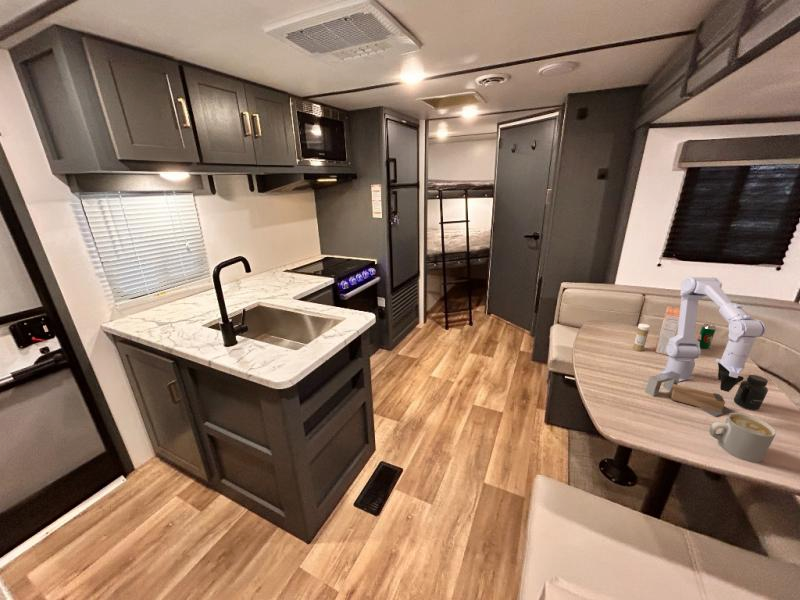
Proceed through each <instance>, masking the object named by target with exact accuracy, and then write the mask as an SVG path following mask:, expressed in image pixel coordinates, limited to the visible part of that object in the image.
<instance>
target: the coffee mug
mask: <svg viewBox="0 0 800 600" xmlns="http://www.w3.org/2000/svg"><path fill="white" fill-rule="evenodd" d="M719 429H722V430H721V431H720V433H717V430H719ZM708 432H709V433H710V436H711V437H712V438H714V439H716V440H717V443H718V445H719V447H720V448H722V450H724V451H725V452H727V453H728V454H730V455H732V456H733V457H736V458H738V459H740V460H742V459H743V460H742V461H745V460H746V462H749V461H750V463H762V462H763V460H764V458H765V456H766V454H767V453H768V451H769V449H770V446H771V444H772V442H773V441H774V438H775V436H776V434H777V433H776V432H777V431H776V430H775V429H774V427H773V426H771V425H770V424H769V423H767V422H765V421H764V420H762V419H760V418H757V417H756V416H751V415H749V414H746V413H740V412H732V413H731V412H730V413H728V415H727V417H726V420H725V422H721V421H716V422H713V423H712V424H711V425H710V427H709V431H708Z"/></svg>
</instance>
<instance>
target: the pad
mask: <svg viewBox="0 0 800 600" xmlns="http://www.w3.org/2000/svg"><path fill="white" fill-rule="evenodd" d="M695 407H696V408H698V409H700V410H702V411H703V412H705V413H707V414H709V415H711V416H713V417H719V416H722V415H725V414H729V413H731V412H732V411H733V409H731V408H729V407H727V406H725V405H724V407H723V409H722V412H717V411H713V410H709V409H705V408H702V407H698V406H695Z"/></svg>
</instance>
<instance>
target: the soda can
mask: <svg viewBox="0 0 800 600" xmlns="http://www.w3.org/2000/svg"><path fill="white" fill-rule="evenodd" d="M716 330H717V328H716V326H715V325H713V324H711V323H704V324H703V325H702V326H701V328H700V332H699V335H698V338H697V339H696V340H698V341H699V342H700V349H704V350H706V349H709V348H710V346H711V345H712V341H713V338H714V337H715V334H716V333H715V332H716Z"/></svg>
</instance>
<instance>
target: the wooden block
mask: <svg viewBox="0 0 800 600" xmlns="http://www.w3.org/2000/svg"><path fill="white" fill-rule="evenodd" d="M669 391H670V390H669ZM669 396H670V399H671V401H675V402H679V403H684V404H687V405H691V406H694V407H696V406H698V407H702V408H705V409H709V410H713V411H717V412H722V409H723V407H724V406H725V405H726V401H725V399H724V397H723V395H720V393H716V392H709V391H705V390H702V389H701V390H699V389H697V388H692V387H687V386H683V385H679V384H677V385H676V384H673V385H672V388H671V391H670V392H669ZM698 407H697V408H698Z"/></svg>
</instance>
